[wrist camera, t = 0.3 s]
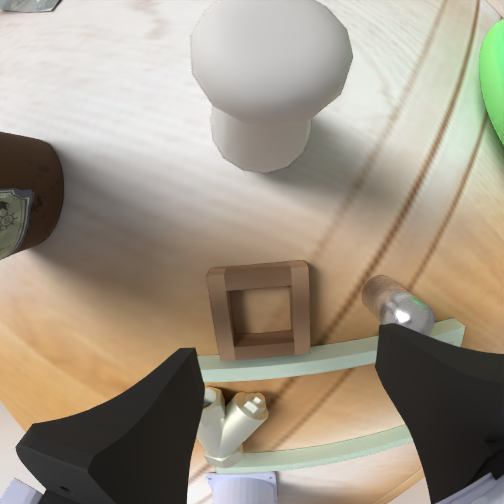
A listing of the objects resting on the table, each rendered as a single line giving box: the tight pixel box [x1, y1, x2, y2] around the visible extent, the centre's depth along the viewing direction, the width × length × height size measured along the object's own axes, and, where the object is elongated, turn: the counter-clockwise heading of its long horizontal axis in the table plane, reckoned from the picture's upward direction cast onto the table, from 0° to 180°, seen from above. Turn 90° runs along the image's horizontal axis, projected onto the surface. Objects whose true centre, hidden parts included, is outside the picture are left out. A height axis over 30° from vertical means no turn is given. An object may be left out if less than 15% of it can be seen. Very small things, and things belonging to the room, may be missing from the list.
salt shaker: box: [190, 0, 353, 173], centre depth 11 cm, size 6×6×13 cm
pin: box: [362, 275, 435, 336], centre depth 17 cm, size 3×3×6 cm
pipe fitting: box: [196, 386, 269, 469], centre depth 21 cm, size 8×4×7 cm
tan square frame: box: [207, 260, 310, 361], centre depth 19 cm, size 6×6×2 cm
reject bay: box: [197, 318, 465, 473], centre depth 21 cm, size 14×24×2 cm, turn 95°
